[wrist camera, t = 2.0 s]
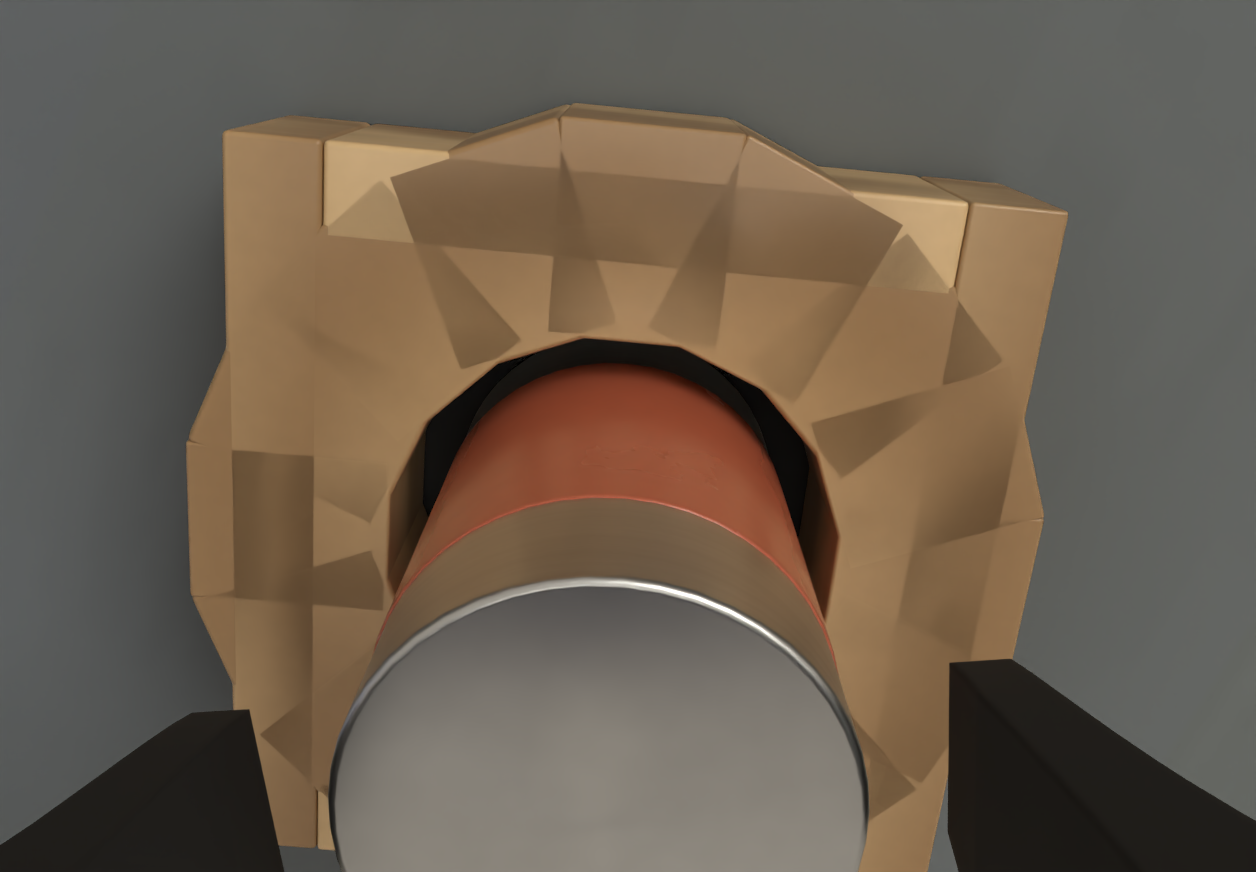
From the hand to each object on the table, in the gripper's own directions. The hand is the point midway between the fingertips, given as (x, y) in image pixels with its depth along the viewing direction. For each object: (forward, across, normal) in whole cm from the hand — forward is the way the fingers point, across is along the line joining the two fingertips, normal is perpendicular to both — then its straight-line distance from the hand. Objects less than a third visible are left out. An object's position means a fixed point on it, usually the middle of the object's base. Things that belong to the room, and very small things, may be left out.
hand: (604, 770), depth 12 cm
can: (+8, 0, 0) cm, 8 cm away
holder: (+8, 0, 0) cm, 8 cm away
